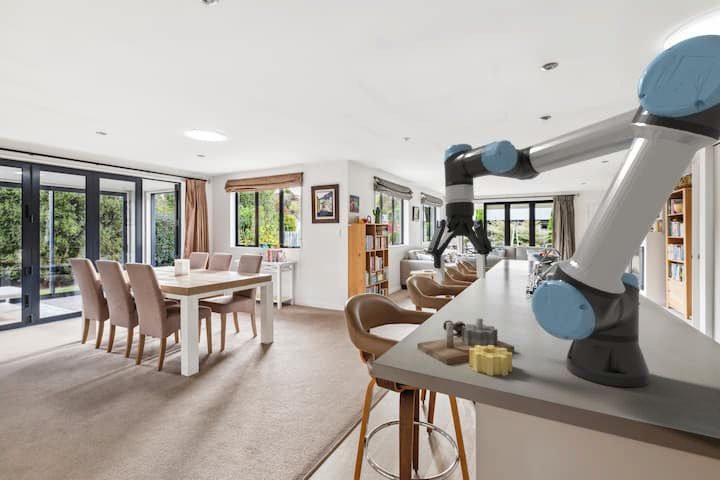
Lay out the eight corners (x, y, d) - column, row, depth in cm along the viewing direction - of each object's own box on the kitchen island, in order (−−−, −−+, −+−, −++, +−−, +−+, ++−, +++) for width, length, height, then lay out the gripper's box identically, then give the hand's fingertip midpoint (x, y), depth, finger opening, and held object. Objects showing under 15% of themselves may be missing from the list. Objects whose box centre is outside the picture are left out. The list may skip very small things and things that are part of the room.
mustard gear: (521, 371, 79) (521, 354, 79) (489, 378, 75) (489, 360, 75) (491, 358, 87) (491, 342, 87) (461, 364, 84) (461, 347, 84)
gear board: (514, 351, 92) (514, 322, 92) (446, 364, 84) (446, 331, 84) (479, 338, 104) (479, 312, 104) (417, 348, 96) (417, 319, 96)
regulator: (492, 337, 109) (444, 324, 115) (494, 326, 108) (445, 314, 113) (489, 351, 103) (439, 337, 108) (492, 340, 101) (440, 327, 107)
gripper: (485, 204, 104) (487, 275, 104) (413, 202, 94) (415, 280, 94) (504, 201, 97) (506, 277, 97) (428, 199, 88) (430, 283, 87)
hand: (461, 279), depth 95 cm, fingers open, 13 cm apart
